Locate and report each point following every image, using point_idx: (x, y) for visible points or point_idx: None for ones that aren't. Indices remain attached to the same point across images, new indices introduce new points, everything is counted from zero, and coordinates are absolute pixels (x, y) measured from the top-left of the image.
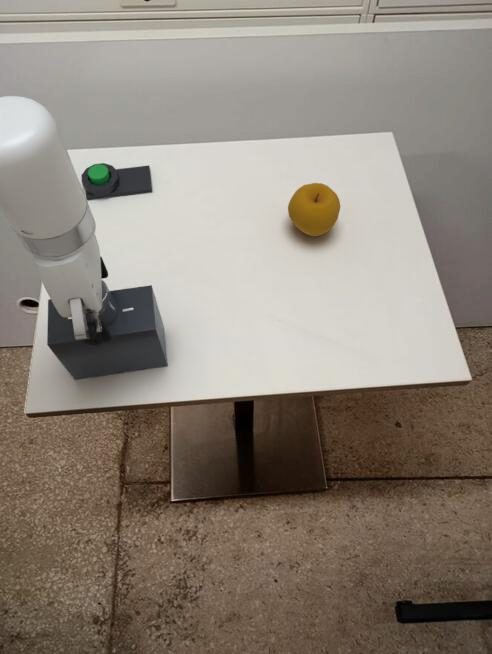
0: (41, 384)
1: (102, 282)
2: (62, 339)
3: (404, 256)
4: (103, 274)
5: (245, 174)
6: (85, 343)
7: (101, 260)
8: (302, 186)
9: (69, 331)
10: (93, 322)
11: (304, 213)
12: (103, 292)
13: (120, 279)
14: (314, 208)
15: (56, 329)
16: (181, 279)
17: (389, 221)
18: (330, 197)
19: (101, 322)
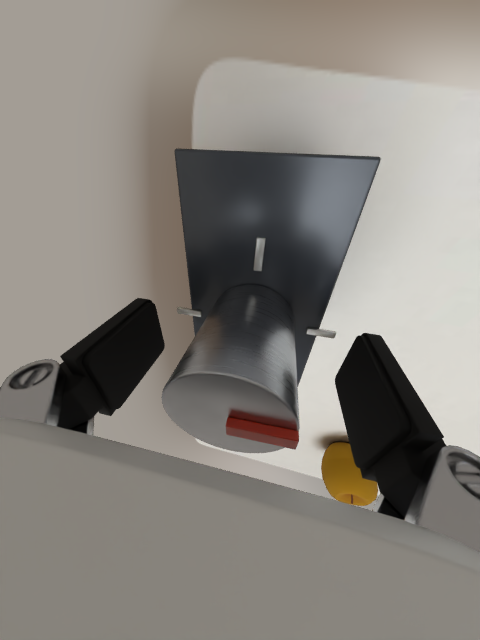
0: (245, 82)
1: (256, 451)
2: (192, 210)
3: (283, 461)
4: (340, 390)
5: (459, 440)
6: (136, 299)
7: (361, 470)
8: (374, 498)
9: (215, 236)
10: (68, 425)
11: (340, 482)
12: (215, 442)
13: (407, 278)
14: (338, 492)
15: (228, 191)
16: (349, 349)
17: (316, 469)
18: (343, 501)
19: (114, 407)
